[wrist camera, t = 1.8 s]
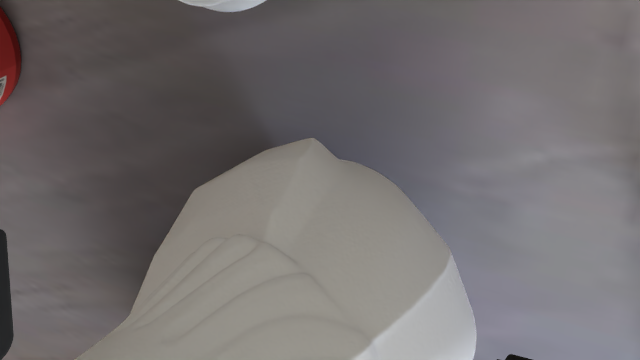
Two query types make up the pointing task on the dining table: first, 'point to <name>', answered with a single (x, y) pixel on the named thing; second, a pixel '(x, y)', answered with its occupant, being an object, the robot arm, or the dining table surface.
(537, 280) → the dining table surface
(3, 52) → the canned food
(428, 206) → the dining table surface
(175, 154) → the dining table surface
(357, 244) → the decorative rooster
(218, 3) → the supplement bottle
